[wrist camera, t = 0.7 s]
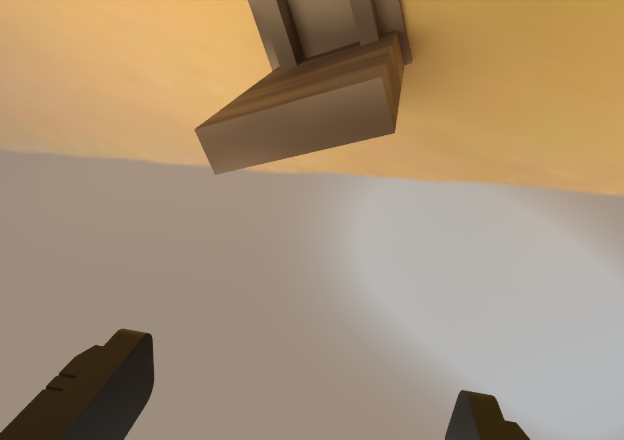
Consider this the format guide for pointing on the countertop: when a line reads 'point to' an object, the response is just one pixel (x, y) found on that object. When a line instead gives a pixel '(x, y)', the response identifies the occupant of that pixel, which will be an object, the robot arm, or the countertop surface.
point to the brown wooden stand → (314, 82)
